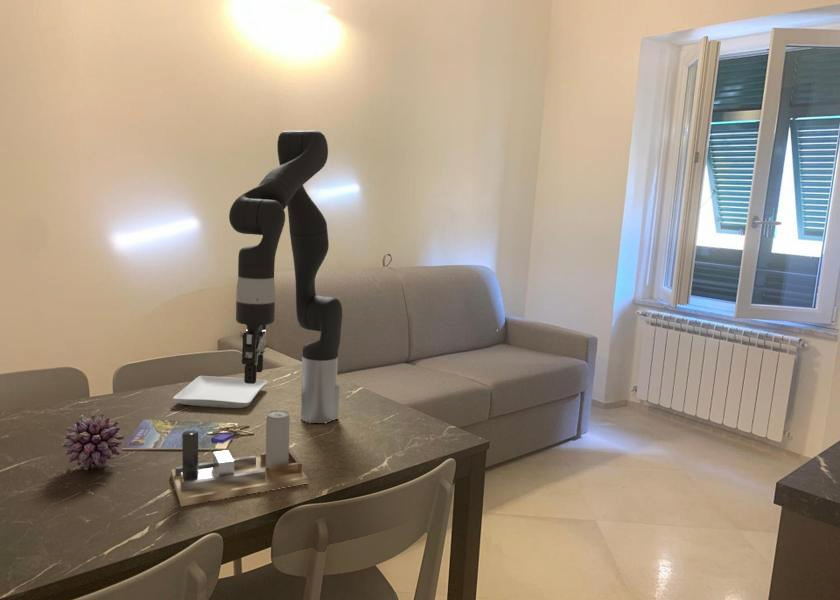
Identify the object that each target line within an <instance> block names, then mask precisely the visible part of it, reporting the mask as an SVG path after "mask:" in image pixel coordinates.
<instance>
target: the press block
mask: <svg viewBox="0 0 840 600" xmlns="http://www.w3.org/2000/svg"><path fill="white" fill-rule="evenodd" d="M181 437H182V439H181V442H182V444H181V446H182V447H181V449H182V451H181V453H182V454H181V455H182V463H181V466H182V472H181V478H182V481H183V482H188V481H194V480H200V479H207V478H213V477H219V476H226V475H232V474H234V458H233V455H232V454H231V453H230V451H229V450H228V449H225V450H217V451H213V452H212V455H213V457H212V462H213V467H212V468H206V469H199V470H198V464H199V432H198V431H197V430H187V431H184V432H182V435H181Z"/></svg>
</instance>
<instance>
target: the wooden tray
mask: <svg viewBox="0 0 840 600" xmlns="http://www.w3.org/2000/svg"><path fill="white" fill-rule="evenodd" d="M233 459H234V474H232V475H226V476H219V477H213V478H207V479H200V480H194V481H188V482H183V481H182V478H181V472H182V465H180V466H175V468H172V469H170V477H171V481H172V484H173V487H174V490H175V493H176V495H177V499H178V502H179V504H180V507H185V506H191V505H198V504H202V503H203V504H204V503H208V501H210V502H214V501H220V499H221V500H226V499H225V498H227V499H231V498H230V497H233V498H236V497H235V496H238V497H241V496H240V495H244V496H247V495H246V494H250V495H252V494H251V493H256V494H258V493H257V492H261V493H264V492H263V491H267V492H270V491H269V490H272V489H273V491H275V490H274V489H278V488H282V487H288V486H293V485H297V484H302V483H309V478H308V475H306V473H305V472H304V471H303V463H302V462H301V460H300V459H299V458H298V457H297V456H296V454H295V453H294V452H293V451H292V449H291V448H289V461H288V464H285V465H278V466H272V467H270V470H269V469H268V468H267V467H266V452H260V456H256V455H249V456H241V457H235V458H233ZM212 467H213V461H207V462H200V463H199V462H198V470H199V469H206V468H212Z"/></svg>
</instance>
